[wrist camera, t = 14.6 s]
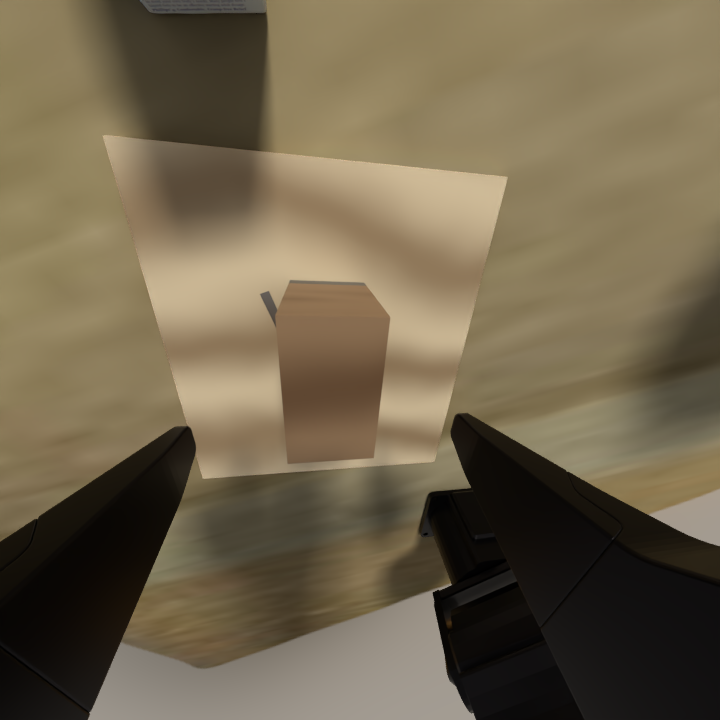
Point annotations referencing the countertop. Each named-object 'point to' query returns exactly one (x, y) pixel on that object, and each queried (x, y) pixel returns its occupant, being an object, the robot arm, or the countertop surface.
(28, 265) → the countertop surface
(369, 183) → the birch board
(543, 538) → the robot arm
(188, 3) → the medicine box
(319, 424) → the block
